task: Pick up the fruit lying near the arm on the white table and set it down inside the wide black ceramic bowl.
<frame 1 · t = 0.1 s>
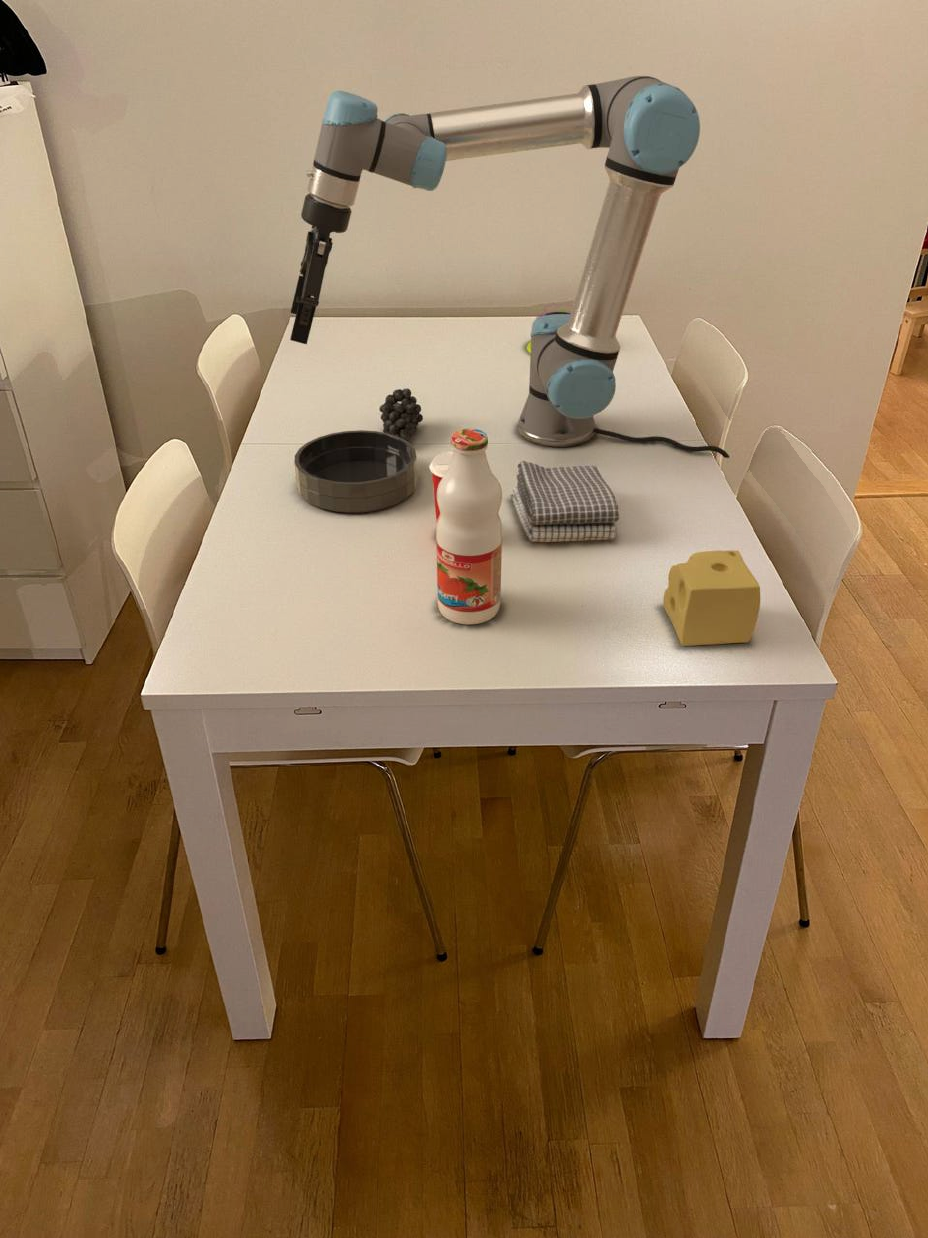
hand: (298, 327, 168), 28 cm above the table, tool tilted 20°, fingers open, 13 cm apart
toy cauldron: (558, 349, 238), on the table
bowl: (357, 485, 181), on the table
cheese: (706, 627, 145), on the table
fruit juice: (468, 609, 149), on the table
fruit: (398, 438, 198), on the table
towel: (562, 520, 171), on the table
paper cup: (454, 537, 166), on the table
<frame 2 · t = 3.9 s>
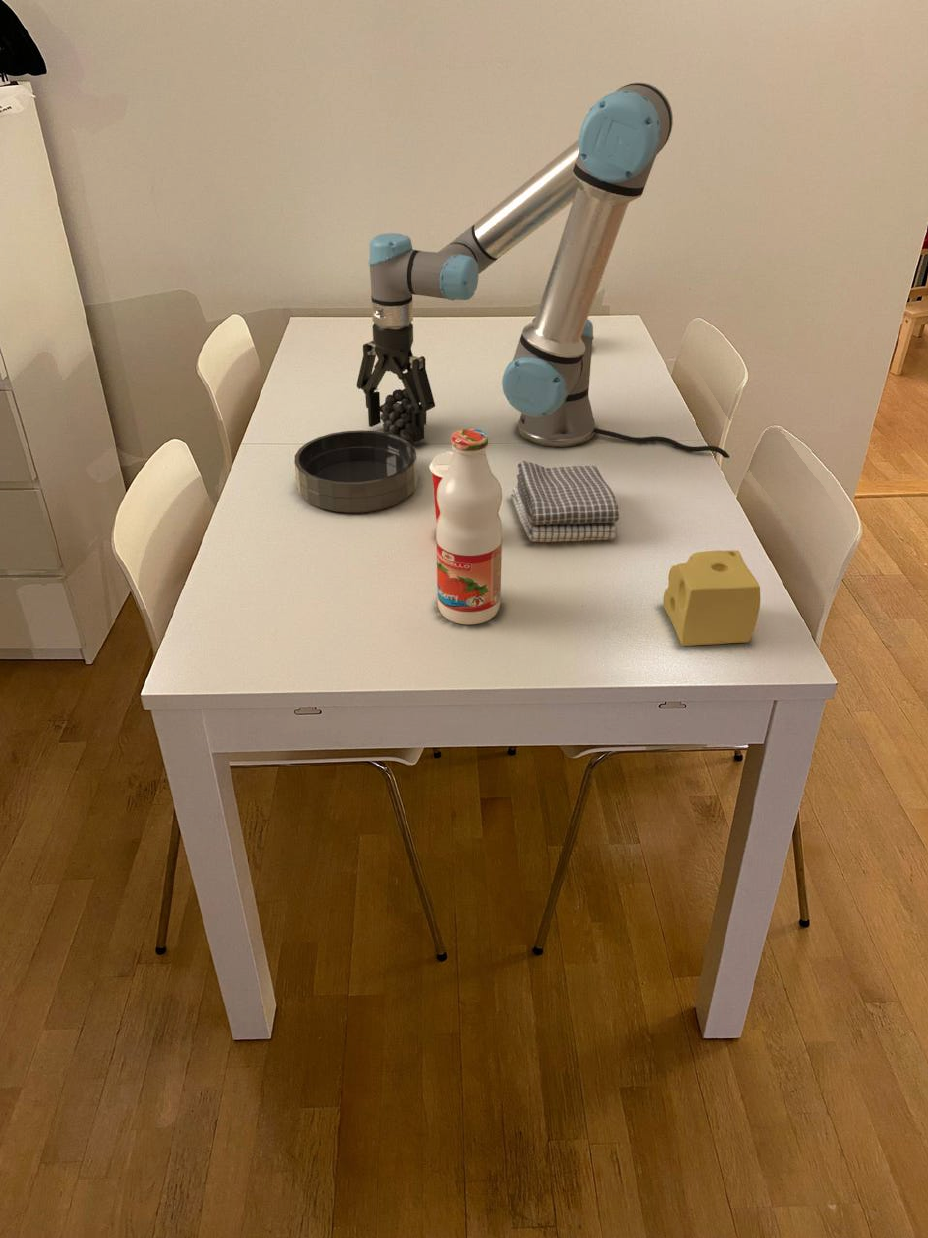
hand: (396, 432, 197), 1 cm above the table, tool pointing down, fingers closed on fruit, 11 cm apart
fruit: (398, 438, 198), on the table, touching gripper
everything else where it was.
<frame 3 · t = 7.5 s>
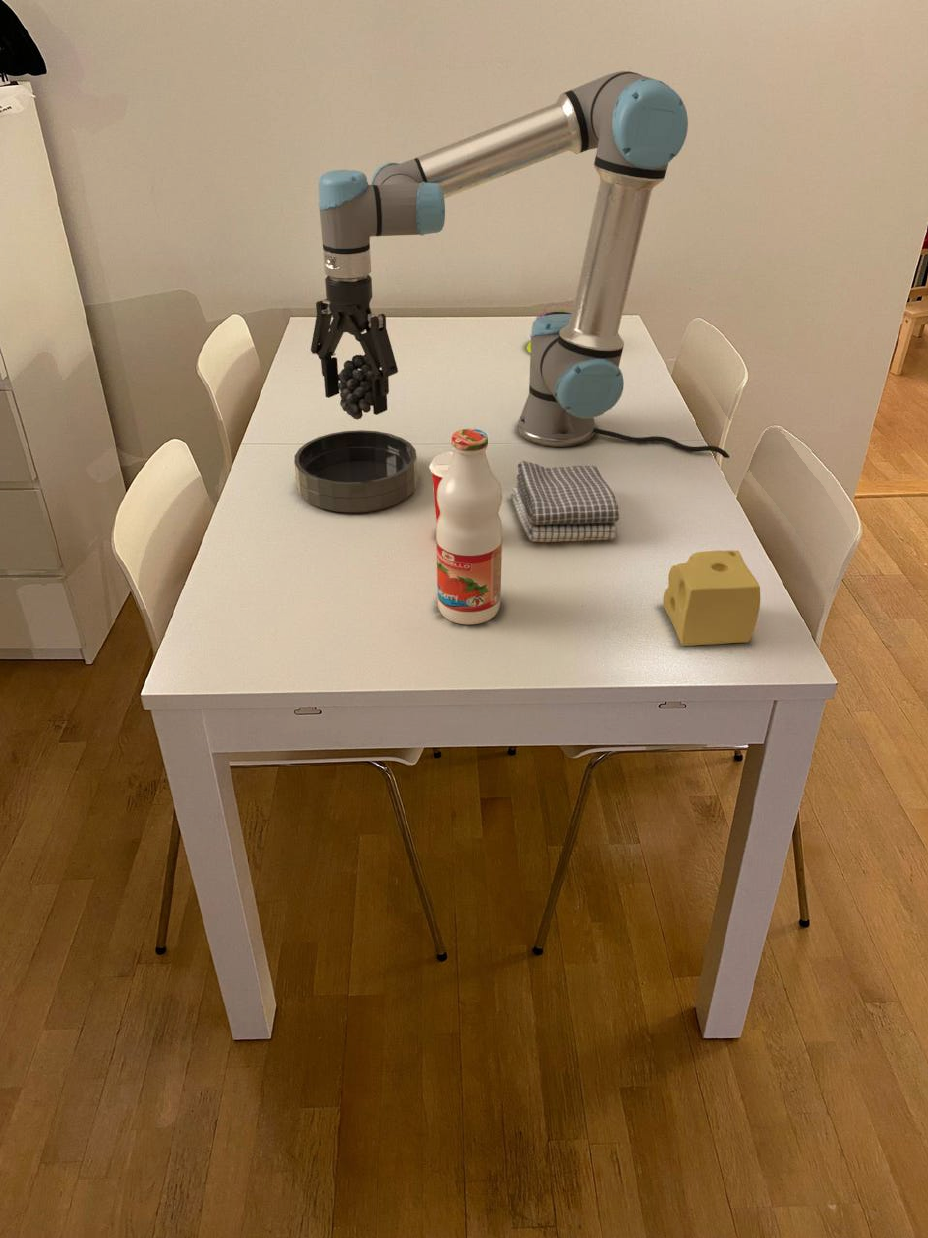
hand: (356, 403, 174), 15 cm above the table, tool pointing down, fingers closed on fruit, 11 cm apart
fruit: (358, 410, 174), point 14 cm above the table, touching gripper
everything else where it was.
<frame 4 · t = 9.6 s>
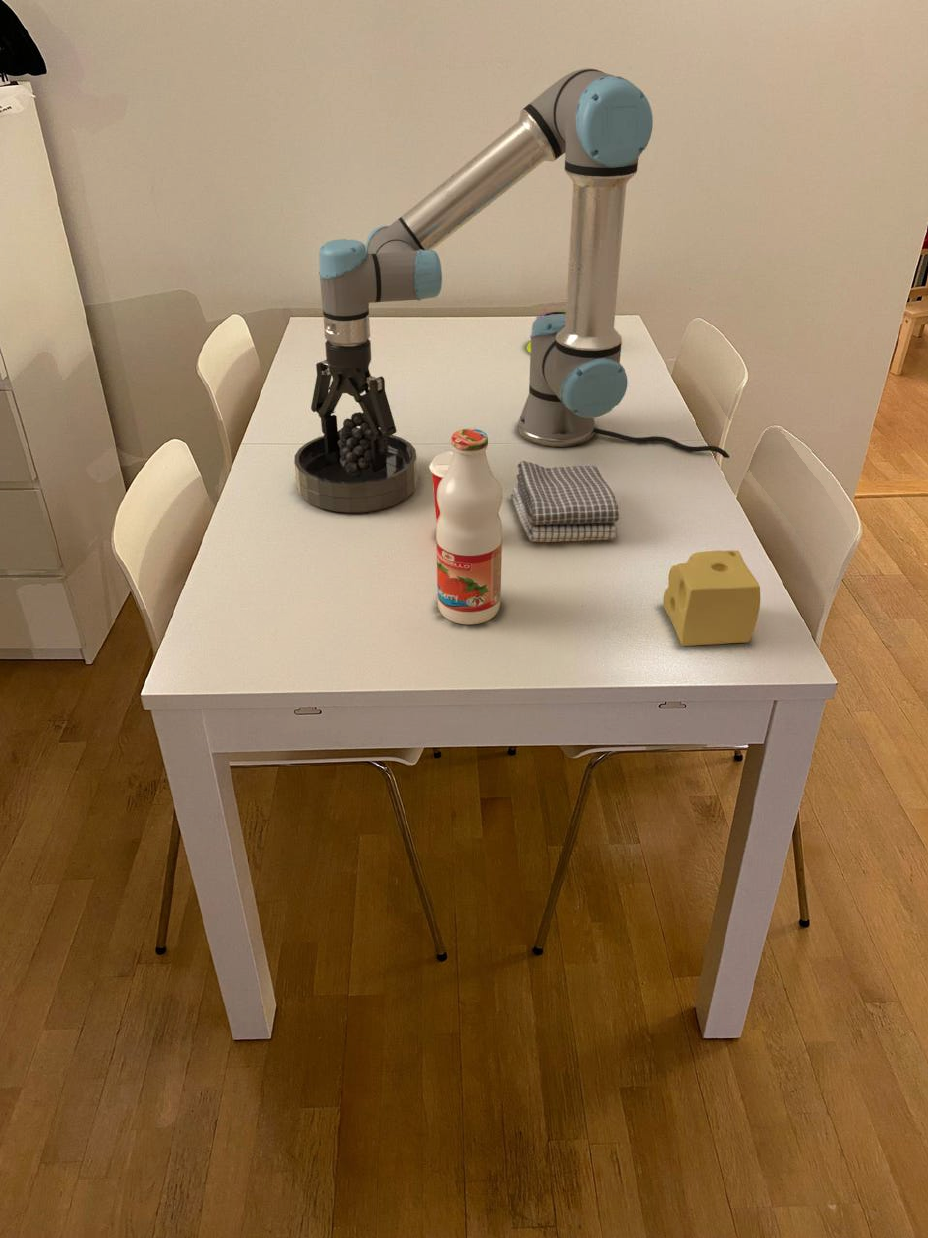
hand: (355, 460, 178), 5 cm above the table, tool pointing down, fingers closed on fruit, 11 cm apart
fruit: (357, 466, 178), point 4 cm above the table, touching gripper
everything else where it was.
when the fingers open (2 cm above the table, at t = 11.2 s): fruit stays where it is, resting on bowl.
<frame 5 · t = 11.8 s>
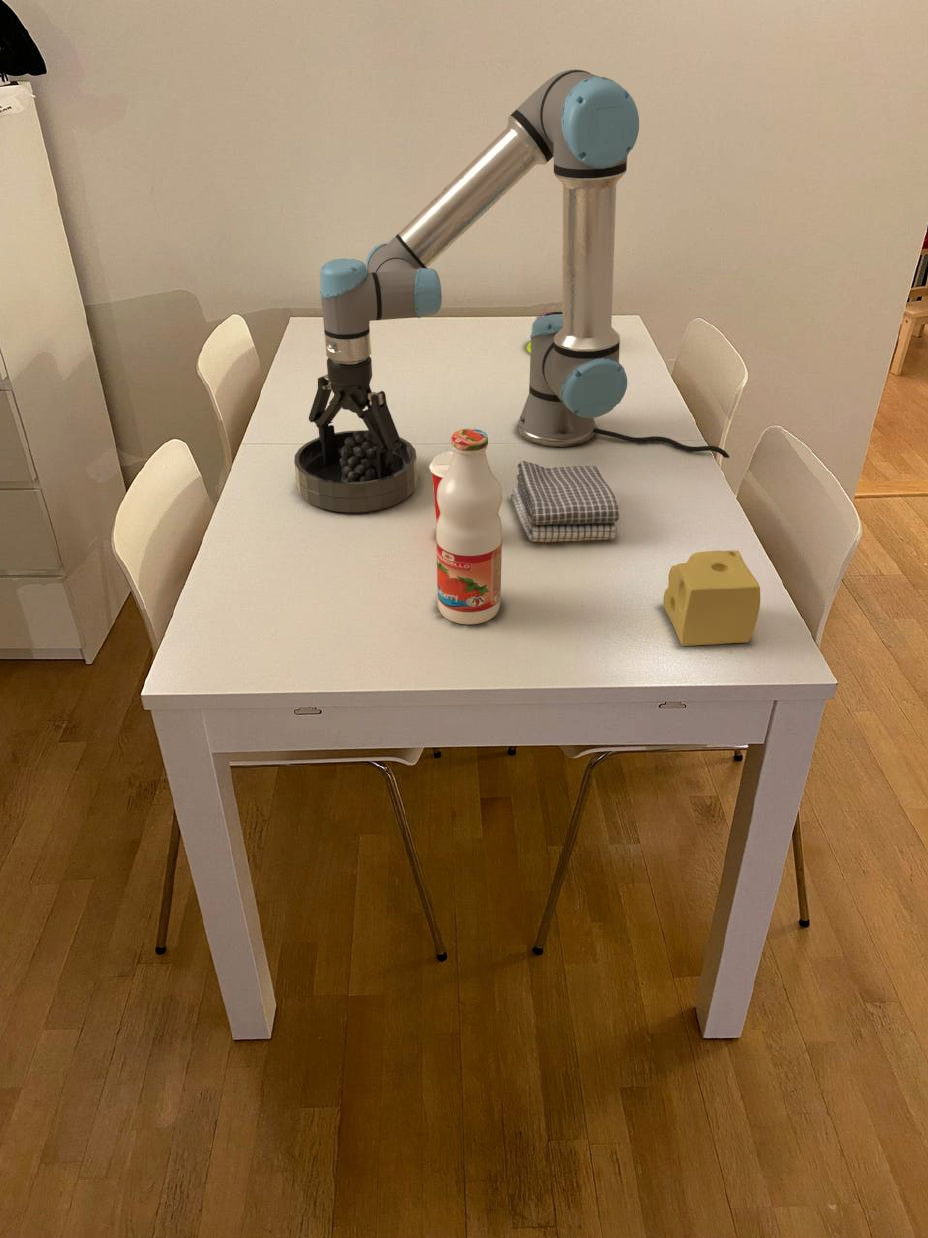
hand: (357, 471, 179), 3 cm above the table, tool pointing down, fingers open, 13 cm apart
fruit: (358, 484, 180), resting on bowl
everything else where it was.
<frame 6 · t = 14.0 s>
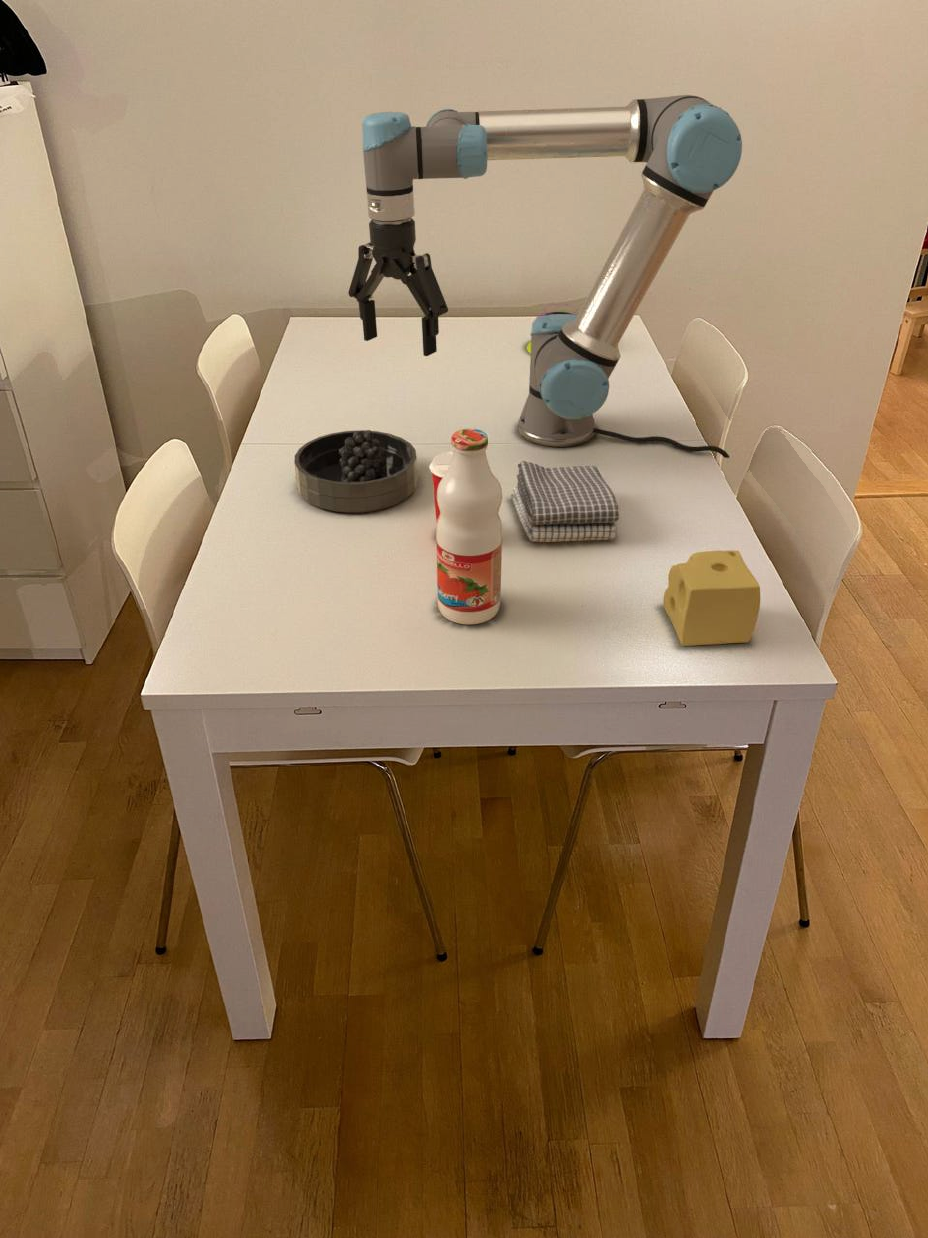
hand: (399, 346, 174), 23 cm above the table, tool pointing down, fingers open, 13 cm apart
nothing on the table moved.
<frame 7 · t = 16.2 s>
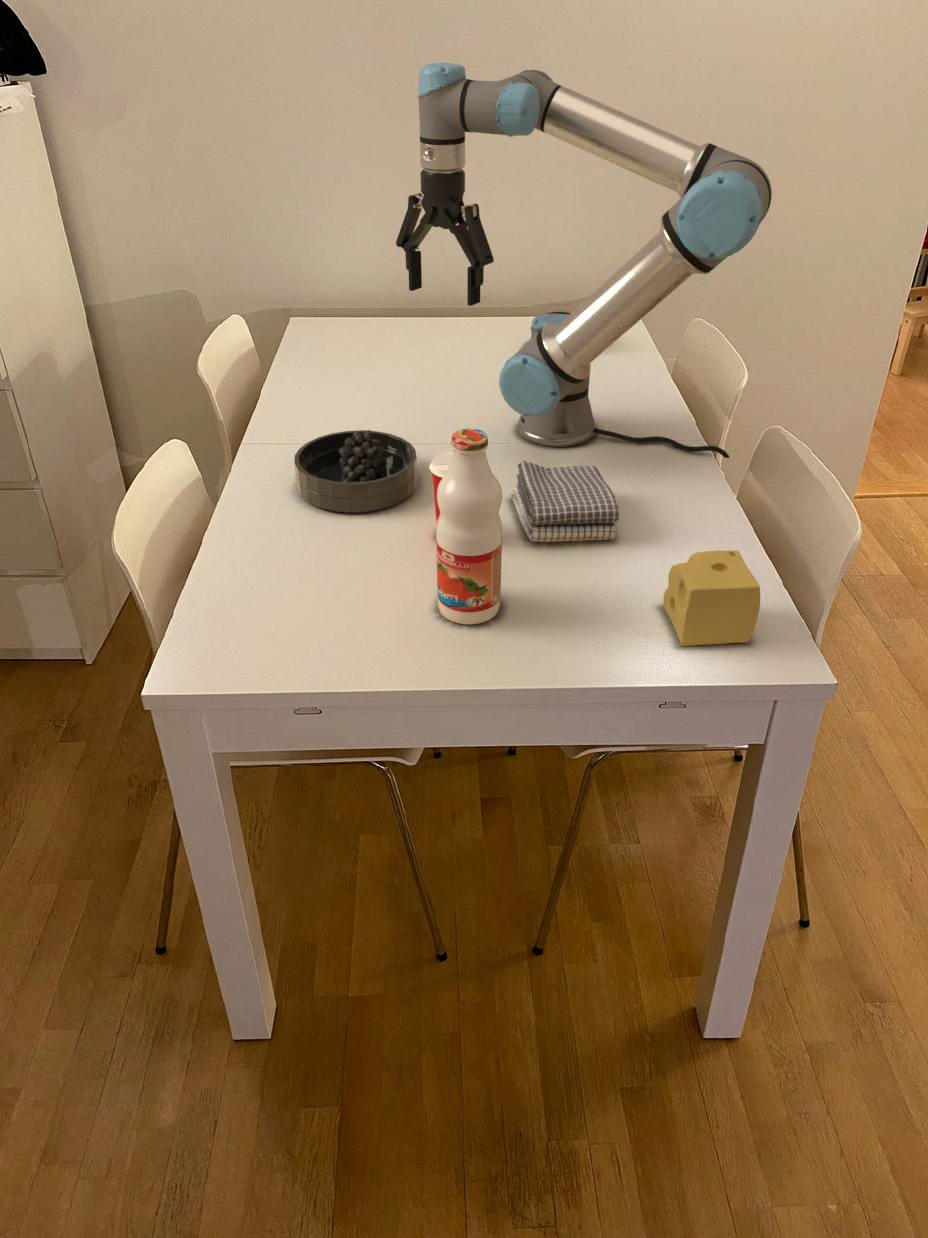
hand: (444, 296, 179), 29 cm above the table, tool pointing down, fingers open, 13 cm apart
nothing on the table moved.
at the end: fruit inside the target area in the bowl (0.4 cm from its centre), point 0.4 cm above the bowl's base; the gripper is holding nothing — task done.
